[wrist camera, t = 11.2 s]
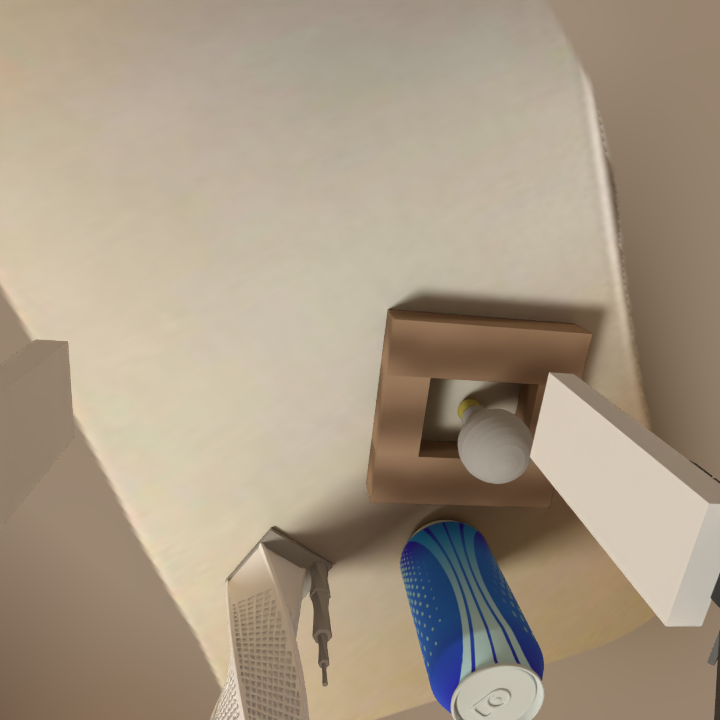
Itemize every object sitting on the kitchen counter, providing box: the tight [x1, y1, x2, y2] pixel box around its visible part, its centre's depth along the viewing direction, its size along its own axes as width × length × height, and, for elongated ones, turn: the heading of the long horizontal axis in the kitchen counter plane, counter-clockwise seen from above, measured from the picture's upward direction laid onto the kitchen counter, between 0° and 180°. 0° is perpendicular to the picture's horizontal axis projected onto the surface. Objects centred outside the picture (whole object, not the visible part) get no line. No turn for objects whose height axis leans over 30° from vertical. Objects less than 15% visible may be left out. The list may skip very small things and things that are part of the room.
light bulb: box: [458, 399, 533, 484], centre depth 43 cm, size 6×6×10 cm
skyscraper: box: [210, 528, 332, 720], centre depth 39 cm, size 8×8×28 cm
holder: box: [366, 310, 593, 508], centre depth 47 cm, size 16×16×3 cm
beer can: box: [400, 520, 544, 720], centre depth 45 cm, size 8×8×16 cm
